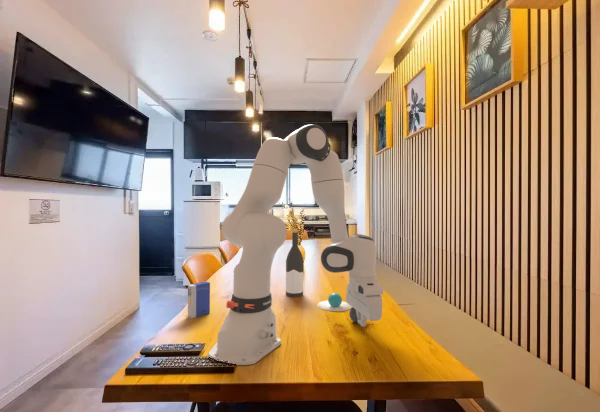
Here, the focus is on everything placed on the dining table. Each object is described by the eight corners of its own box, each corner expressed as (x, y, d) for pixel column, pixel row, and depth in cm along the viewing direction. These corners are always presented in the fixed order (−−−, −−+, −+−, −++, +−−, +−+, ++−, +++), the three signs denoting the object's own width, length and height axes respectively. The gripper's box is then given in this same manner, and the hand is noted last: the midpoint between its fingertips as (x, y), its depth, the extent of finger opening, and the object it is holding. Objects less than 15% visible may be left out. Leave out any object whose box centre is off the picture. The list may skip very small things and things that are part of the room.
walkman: (205, 311, 125) (205, 280, 125) (209, 313, 123) (210, 281, 123) (186, 316, 119) (187, 284, 119) (190, 318, 118) (191, 285, 117)
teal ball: (333, 304, 136) (338, 312, 131) (323, 299, 134) (328, 306, 129) (341, 293, 136) (346, 300, 131) (331, 288, 134) (336, 294, 129)
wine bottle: (303, 292, 154) (304, 228, 153) (302, 297, 146) (303, 230, 145) (286, 291, 154) (287, 228, 154) (284, 296, 146) (285, 229, 146)
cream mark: (349, 313, 125) (349, 312, 125) (314, 309, 129) (314, 308, 129) (353, 302, 139) (353, 301, 139) (321, 299, 143) (321, 299, 143)
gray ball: (361, 302, 118) (355, 314, 120) (349, 303, 115) (344, 315, 117) (370, 312, 114) (364, 325, 116) (359, 314, 111) (353, 326, 113)
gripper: (341, 277, 118) (341, 315, 118) (367, 292, 98) (366, 337, 98) (358, 276, 119) (357, 313, 120) (386, 290, 100) (385, 336, 100)
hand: (361, 324), depth 109 cm, fingers closed
